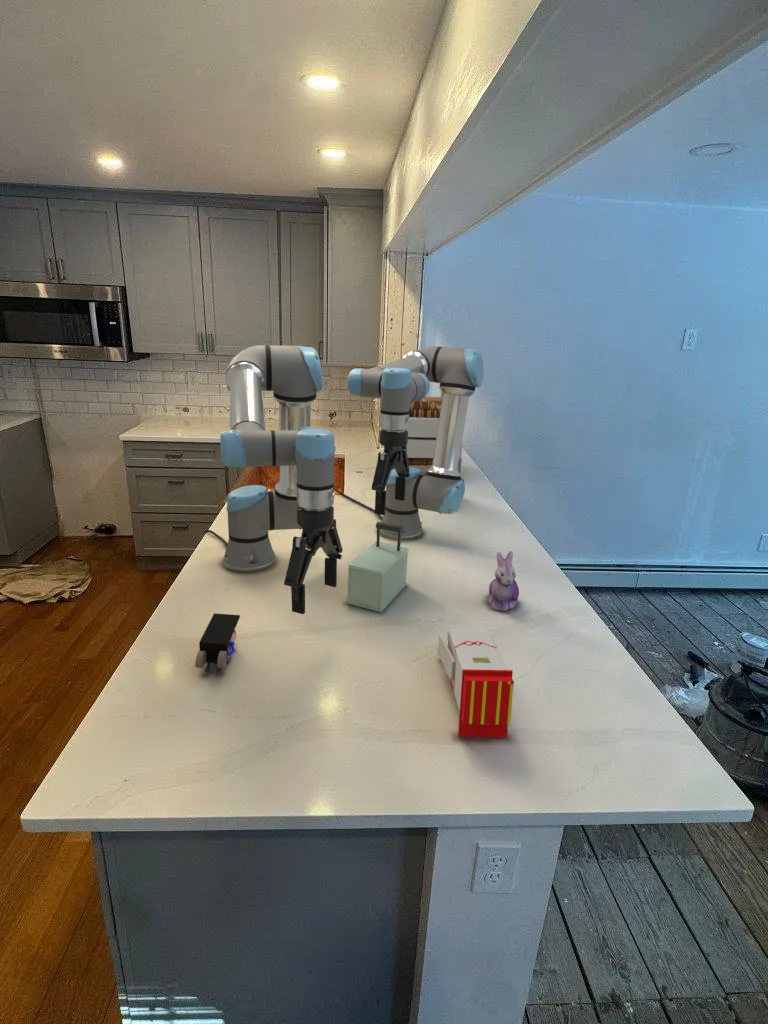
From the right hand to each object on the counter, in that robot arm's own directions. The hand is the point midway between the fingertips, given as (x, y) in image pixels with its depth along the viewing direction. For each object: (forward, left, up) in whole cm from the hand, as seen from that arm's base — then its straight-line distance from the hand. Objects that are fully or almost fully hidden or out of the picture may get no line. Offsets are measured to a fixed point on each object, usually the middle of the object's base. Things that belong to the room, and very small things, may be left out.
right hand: (390, 506), depth 154 cm
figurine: (+27, +19, -24) cm, 41 cm away
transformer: (-80, +90, -24) cm, 123 cm away
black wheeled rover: (+5, -53, -24) cm, 59 cm away
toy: (+47, -18, -24) cm, 55 cm away
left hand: (+17, -36, -9) cm, 41 cm away
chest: (+3, -5, -24) cm, 25 cm away
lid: (+2, -5, -13) cm, 14 cm away
